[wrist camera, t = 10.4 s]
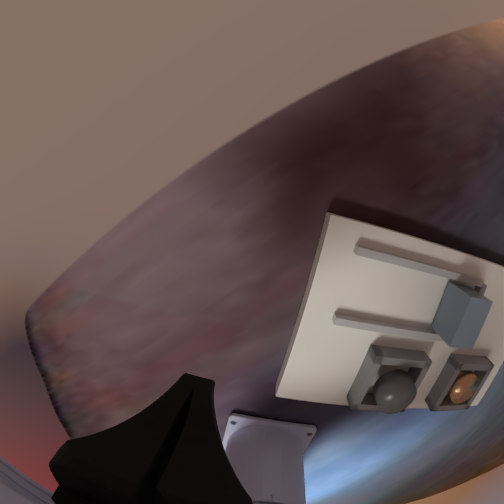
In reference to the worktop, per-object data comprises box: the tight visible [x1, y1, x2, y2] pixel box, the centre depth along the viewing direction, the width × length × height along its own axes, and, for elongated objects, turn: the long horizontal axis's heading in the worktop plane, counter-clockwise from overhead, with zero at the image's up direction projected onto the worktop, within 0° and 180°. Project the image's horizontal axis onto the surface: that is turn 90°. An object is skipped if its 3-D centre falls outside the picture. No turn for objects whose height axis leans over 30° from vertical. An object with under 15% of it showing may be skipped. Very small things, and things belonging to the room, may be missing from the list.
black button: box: [373, 369, 417, 414], centre depth 18 cm, size 3×3×2 cm
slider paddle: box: [431, 282, 493, 349], centre depth 16 cm, size 4×2×3 cm, turn 168°
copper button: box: [447, 370, 479, 404], centre depth 19 cm, size 3×3×2 cm
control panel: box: [275, 212, 504, 412], centre depth 19 cm, size 14×22×3 cm, turn 78°
